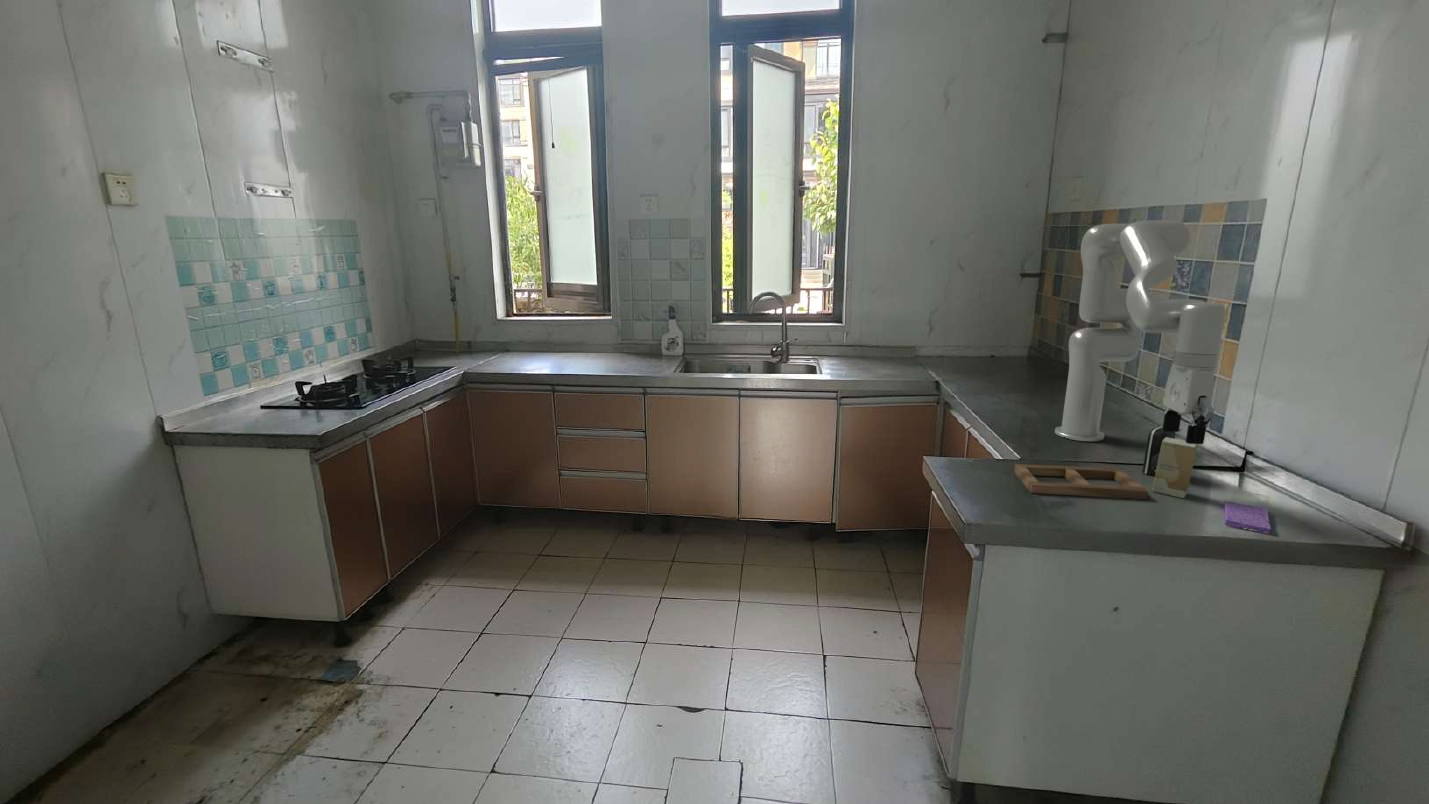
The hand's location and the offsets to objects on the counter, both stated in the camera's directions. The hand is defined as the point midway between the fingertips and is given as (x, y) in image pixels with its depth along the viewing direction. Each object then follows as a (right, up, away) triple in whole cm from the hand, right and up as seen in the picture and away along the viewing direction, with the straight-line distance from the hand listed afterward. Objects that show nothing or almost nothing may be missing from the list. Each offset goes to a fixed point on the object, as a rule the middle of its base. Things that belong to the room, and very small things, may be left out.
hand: (1181, 437), depth 139 cm
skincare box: (0, -13, +4) cm, 14 cm away
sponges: (+6, -17, -10) cm, 20 cm away
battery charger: (+5, -10, +16) cm, 19 cm away
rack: (-18, -12, +9) cm, 23 cm away
